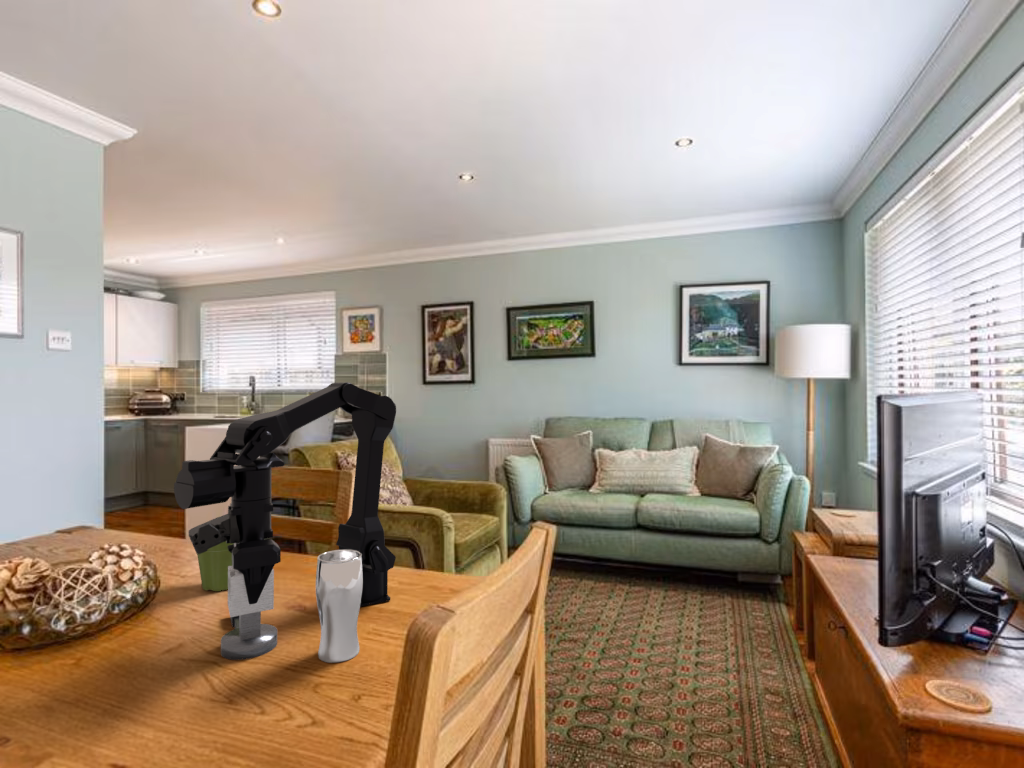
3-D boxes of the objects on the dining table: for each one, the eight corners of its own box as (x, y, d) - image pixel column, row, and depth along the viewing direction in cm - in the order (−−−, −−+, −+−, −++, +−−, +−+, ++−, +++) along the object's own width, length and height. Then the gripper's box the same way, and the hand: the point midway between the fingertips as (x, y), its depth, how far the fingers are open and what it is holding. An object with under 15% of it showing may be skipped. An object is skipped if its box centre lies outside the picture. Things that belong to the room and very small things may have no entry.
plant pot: (266, 582, 114) (266, 529, 114) (209, 600, 104) (210, 542, 104) (234, 572, 120) (234, 522, 120) (177, 588, 110) (178, 533, 110)
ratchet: (280, 651, 83) (281, 612, 84) (222, 664, 79) (222, 623, 79) (265, 610, 99) (265, 577, 99) (216, 619, 95) (216, 585, 95)
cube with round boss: (268, 596, 89) (268, 551, 89) (273, 609, 84) (273, 560, 84) (227, 603, 86) (228, 556, 86) (230, 617, 81) (230, 567, 81)
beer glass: (371, 646, 85) (372, 551, 85) (343, 667, 78) (344, 564, 79) (334, 640, 87) (335, 547, 88) (304, 660, 81) (305, 559, 81)
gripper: (191, 493, 89) (190, 588, 89) (193, 515, 73) (192, 631, 73) (265, 487, 95) (264, 576, 95) (281, 506, 79) (280, 613, 79)
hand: (250, 596), depth 85 cm, fingers closed on cube with round boss, 6 cm apart
